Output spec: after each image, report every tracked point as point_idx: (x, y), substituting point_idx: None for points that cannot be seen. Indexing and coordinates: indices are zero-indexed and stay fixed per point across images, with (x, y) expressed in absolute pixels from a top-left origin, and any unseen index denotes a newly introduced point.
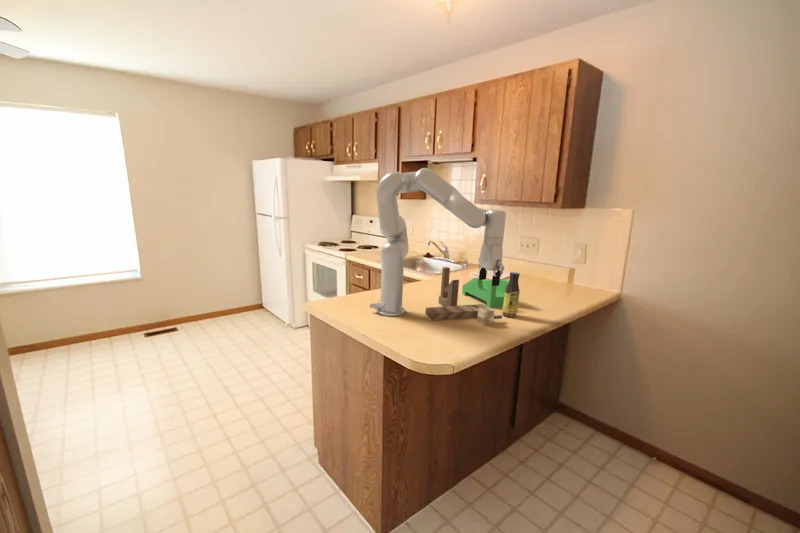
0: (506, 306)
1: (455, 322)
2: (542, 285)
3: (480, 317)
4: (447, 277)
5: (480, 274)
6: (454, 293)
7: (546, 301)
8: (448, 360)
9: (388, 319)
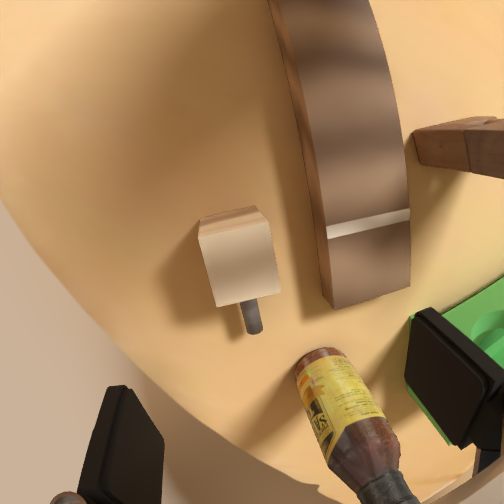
0: (322, 381)
1: (241, 88)
2: (474, 446)
3: (229, 218)
4: None
5: (452, 354)
6: (471, 148)
7: (400, 458)
8: None
9: None
